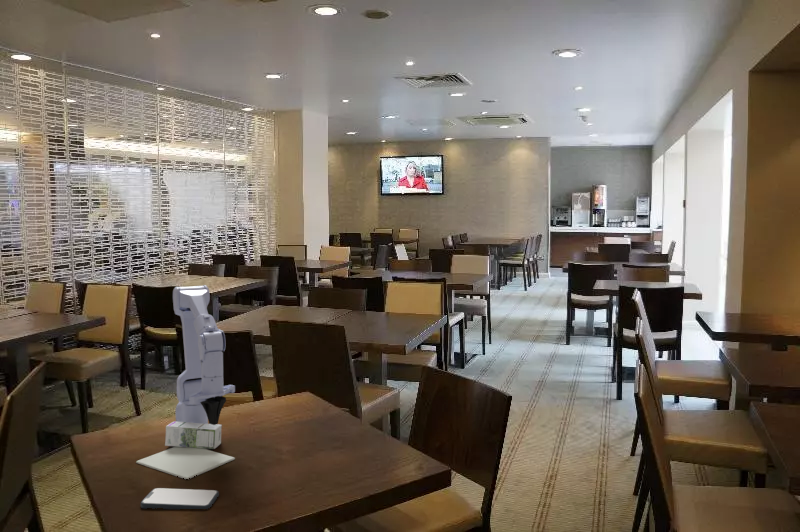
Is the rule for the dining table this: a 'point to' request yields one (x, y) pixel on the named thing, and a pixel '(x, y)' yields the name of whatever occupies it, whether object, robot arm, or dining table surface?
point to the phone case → (179, 498)
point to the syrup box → (193, 435)
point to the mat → (185, 461)
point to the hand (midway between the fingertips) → (213, 423)
